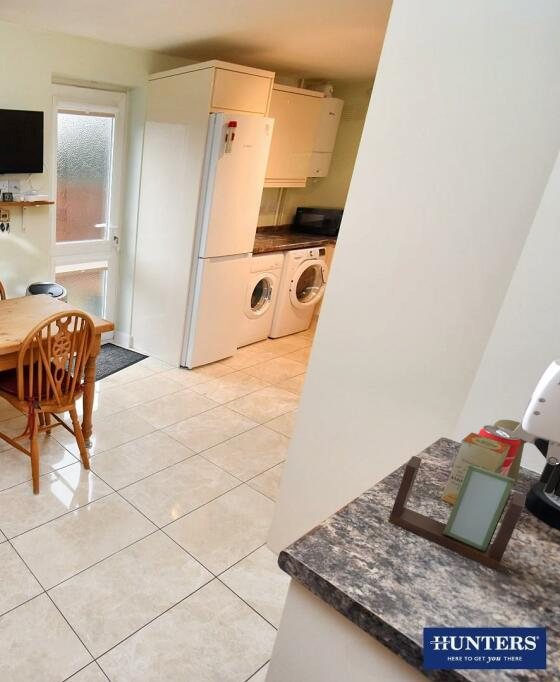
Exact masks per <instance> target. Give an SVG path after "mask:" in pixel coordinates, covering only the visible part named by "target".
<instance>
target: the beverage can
mask: <svg viewBox="0 0 560 682" xmlns="http://www.w3.org/2000/svg"><path fill="white" fill-rule="evenodd" d="M477 434H478V435H481V436H484V437H487V438H490V439H493V440H496V441H499V442H502V443H505V444H508V445H511V446H510V448H509V451H508V453H507V456H506V458H505V461H504V463H503V466H502V468H501V471H500V473H499V474H501V475H504V476H507V475H508V472H509V470H510V467H511V465H512V463H513V460H514V458H515V455H516V453H517V450H518V448H519V446H520V443H521V442H520V438H518V437H516V436H515V435H514V432H513V431H511V430H508V429H506V428H502V427H498V426H493V425H491V424H488V425H487V424H486V425H484V426H483V427H482V428H480V430H479V432H478V433H477Z"/></svg>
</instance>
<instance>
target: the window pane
mask: <svg viewBox="0 0 560 682" xmlns="http://www.w3.org/2000/svg"><path fill="white" fill-rule="evenodd" d="M515 483H516V482H515V479H513V478H510V477H507V476H504V475H501V474H498V473H495V472H492V471H489V470H486V469H483V468H480V467H477V466H474V465H471V464H469V466H468V468H467V471H466V474H465V476H464V479H463V482H462V484H461V487H460V490H459V492H458V495H457V498H456V500H455V503H454V505H453V506H452V508H451V511H450V514H449V516H448V520H447V522H446V527H445V530H444V532H443V533H444V534H446V535H448V536H451V537H453V538H455V539H457V540H460V541H462V542H464V543H467V544H469V545H471V546H474V547H476V548H478V549H480V550H483V551H486V549H487V547H488V544H489V542H490V539H491V537H492V535H493V532H494V530H495V527H496V525H497V523H498V520H499V518H500V516H501V513H502V511H503V508H504V506H505V504H506V501H507V499H508V497H509V494H510V492H511V491H512V489H513V488H514V485H515ZM511 493H512V492H511ZM510 495H511V494H510ZM509 498H510V497H509ZM508 500H509V499H508ZM506 505H507V504H506ZM505 507H506V506H505ZM503 512H504V511H503ZM502 514H503V513H502ZM501 517H502V516H501ZM500 519H501V518H500ZM498 524H499V523H498ZM497 526H498V525H497ZM495 531H496V530H495ZM494 533H495V532H494ZM493 536H494V535H493ZM492 538H493V537H492ZM490 543H491V542H490Z"/></svg>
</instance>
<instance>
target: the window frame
mask: <svg viewBox="0 0 560 682" xmlns="http://www.w3.org/2000/svg"><path fill="white" fill-rule="evenodd" d="M422 460H423V459H422V458H421V457H418V456H415V455H412V456H411V457H410V459H409V461H408V462H407V463H406V465H405V469H404V472H403V475H402V478H401V481H400V483H399V487H398V490H397V493H396V496H395V499H394V503H393V505H392V509H391V512H390V515H389V518H388V523H391V524H392V525H395V526H398V527H400V528H402V529H404V530H406V531H408V532H410V533H413V534H415V535H417V536H419V537H421V538H424V539H426V540H428V541H430V542H433V543H435V544H437V545H439V546H441V547H444V548H446V549H448V550H451V551H452V552H455V553H456V554H459V555H460V556H463V557H466V558H468V559H470V560H471V561H474V562H477V563H478V564H481V565H483V566H486V567H488V568H490V569H492V570H494V571H497V570H498V568H499V566H500V563H501V561H502V559H503V556H504V554H505V552H506V549H507V548H508V545H509V543H510V541H511V539H512V536H513V533H514V531H515V529H516V527H517V524H518V522H519V520H520V518H521V515H522V513H523V511H524V508H525V504H526V498H527V495H525V494H523V493H520V492H517V491H514V492H513V494H512V492H510V494H509V497H508V499H507V501H506V504H505V506H504V508H503V511H502V513H501V516H500V518H499V520H498V523H497V525H496V527H495V530H494V532H493V535H492V537H491V539H490V542H489V544H488V547H487V549H486V551H483V550H480V549H478V548H476V547H474V546H471V545H469V544H467V543H464V542H462V541H460V540H457V539H455V538H453V537H451V536H448V535H446V534H444V533H443V532H444V530H445V527H446V524H447V523H446V524H445V523H443V522H441V521H439V520H436V519H434V518H432V517H429V516H427V515H424V514H422V513H420V512H417V511H415V510H413V509H411V508H409V507H408V508H407V506H408V502H409V499H410V496H411V493H412V491H413V487H414V484H415V482H416V478H417V476H418V472H419V469H420V465H421V463H422ZM511 494H512V496H511ZM510 497H511V499H510ZM509 500H510V501H509ZM508 501H509V504H508ZM507 504H508V505H507ZM506 507H507V508H506ZM505 508H506V510H505ZM504 511H505V513H504ZM503 513H504V516H503ZM502 516H503V518H502ZM501 518H502V520H501ZM500 521H501V522H500ZM499 523H500V525H499ZM498 526H499V528H498V530H497V527H498ZM496 530H497V532H496ZM495 533H496V535H495ZM494 535H495V537H494ZM493 537H494V539H493ZM492 539H493V541H492ZM491 542H492V543H491Z"/></svg>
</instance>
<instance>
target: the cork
mask: <svg viewBox="0 0 560 682" xmlns="http://www.w3.org/2000/svg"><path fill="white" fill-rule="evenodd" d="M520 423H521V422H519V421H515V420H511V419H499V420H497V421H496V422H495V423H494V424H493V425H492V426H498V427H502V428H506V429H508V430H511V431H513V432H514V430H515V429H516V427H517V426H518V425H519V424H520ZM520 442H521V443H520V446H519V448H518V450H517V453H516V455H515V458H514V460H513V463H512V465H511V467H510V470H509V472H508V475H507V477H510V478H513V479H515V482H514V483H516V482H518V478H519V473H520V468H521V463H522V458H523V454H524V453H523V452H524V448H525V447H524V446H525V444H526V443H528V442H526V441H524V440H522V439H520Z"/></svg>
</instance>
